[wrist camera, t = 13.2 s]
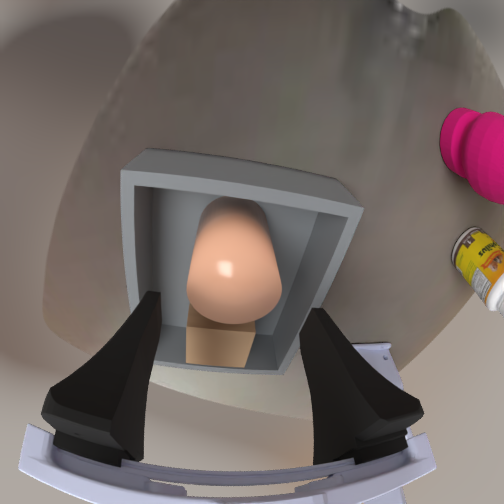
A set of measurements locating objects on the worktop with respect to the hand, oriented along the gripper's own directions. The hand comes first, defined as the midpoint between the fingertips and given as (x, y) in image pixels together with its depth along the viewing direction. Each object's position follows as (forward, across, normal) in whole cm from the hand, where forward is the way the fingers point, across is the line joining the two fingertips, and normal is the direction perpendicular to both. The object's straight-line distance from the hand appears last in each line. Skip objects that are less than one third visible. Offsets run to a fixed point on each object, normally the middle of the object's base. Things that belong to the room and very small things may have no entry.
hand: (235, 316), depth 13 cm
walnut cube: (+9, 0, +8) cm, 12 cm away
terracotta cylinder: (+9, 0, 0) cm, 9 cm away
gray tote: (+9, 0, +4) cm, 10 cm away
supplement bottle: (+10, -26, -2) cm, 28 cm away
